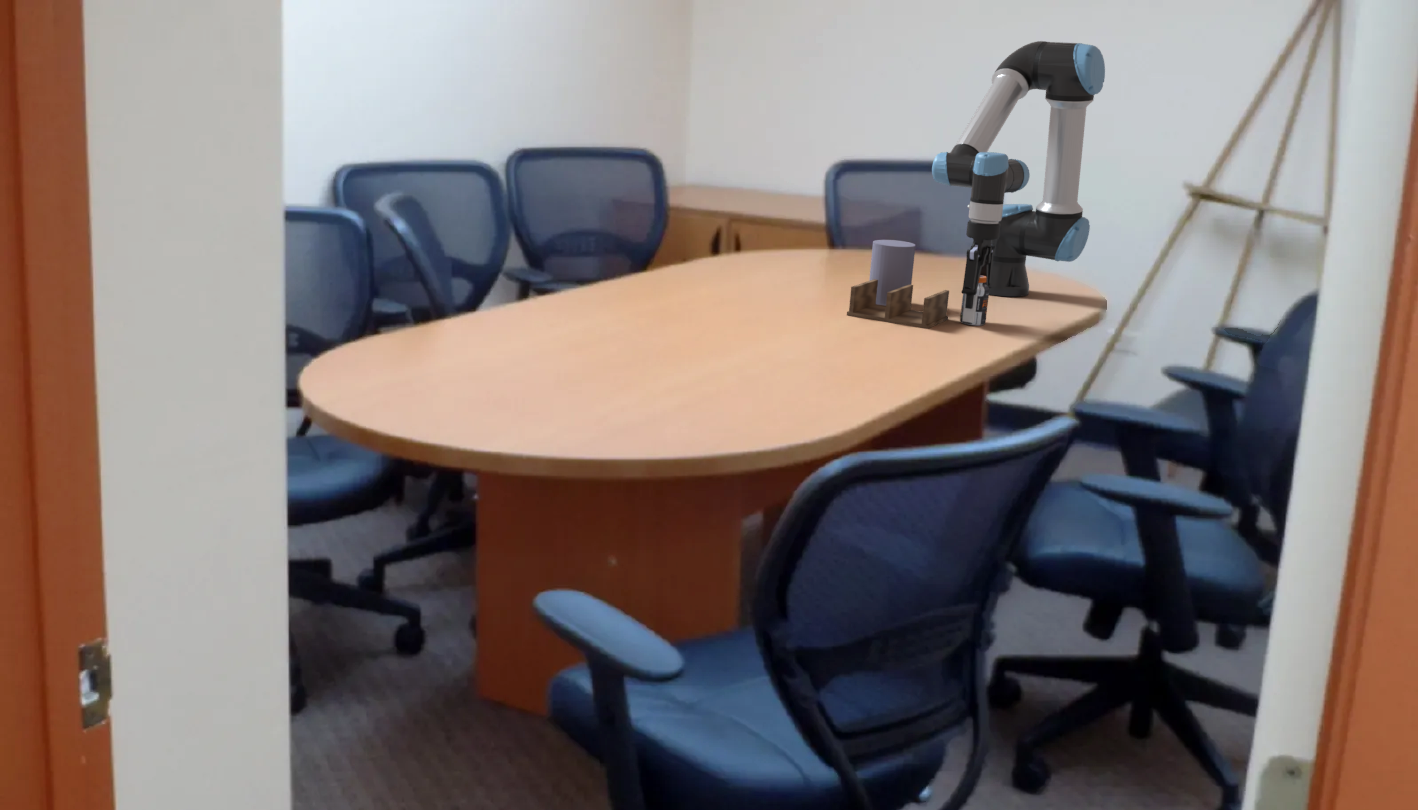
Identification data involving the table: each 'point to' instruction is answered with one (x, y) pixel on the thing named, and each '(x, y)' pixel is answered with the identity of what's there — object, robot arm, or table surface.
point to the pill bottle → (979, 303)
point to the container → (891, 266)
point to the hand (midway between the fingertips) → (972, 319)
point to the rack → (897, 306)
